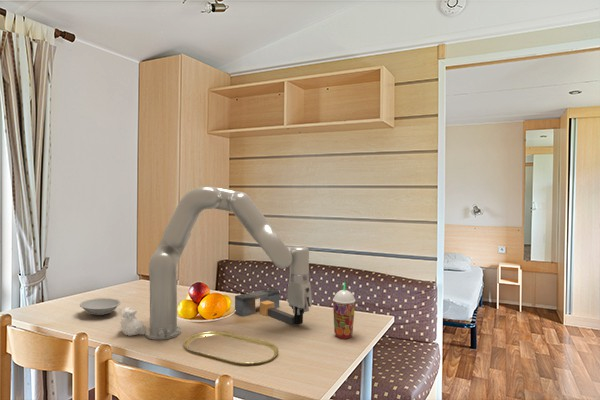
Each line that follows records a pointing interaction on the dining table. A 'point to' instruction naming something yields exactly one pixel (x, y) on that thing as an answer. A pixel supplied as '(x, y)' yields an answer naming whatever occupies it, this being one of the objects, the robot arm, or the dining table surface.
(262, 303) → the plug
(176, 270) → the robot arm
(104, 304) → the dish
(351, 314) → the smoothie
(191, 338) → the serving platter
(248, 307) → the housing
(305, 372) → the dining table surface
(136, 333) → the duck figurine
